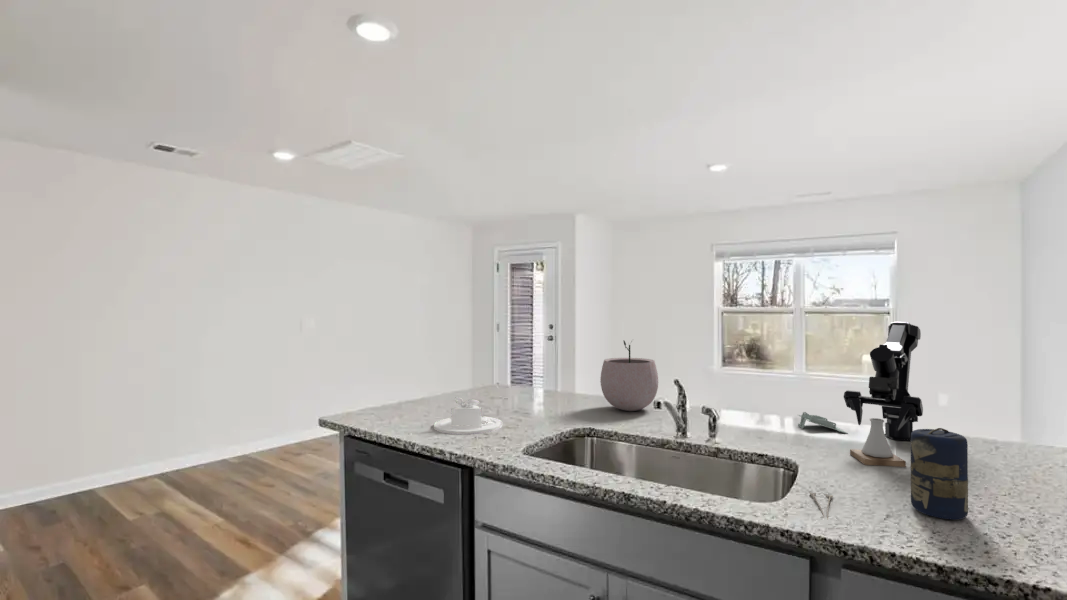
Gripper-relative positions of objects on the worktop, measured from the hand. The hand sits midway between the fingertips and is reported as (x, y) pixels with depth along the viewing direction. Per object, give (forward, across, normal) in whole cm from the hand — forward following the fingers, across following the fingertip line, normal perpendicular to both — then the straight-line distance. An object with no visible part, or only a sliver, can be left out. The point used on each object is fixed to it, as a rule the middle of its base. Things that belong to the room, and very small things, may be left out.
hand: (877, 426), depth 147 cm
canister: (+32, +18, -19) cm, 41 cm away
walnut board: (+8, 0, +5) cm, 9 cm away
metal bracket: (-13, -23, +28) cm, 38 cm away
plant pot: (0, -90, +14) cm, 91 cm away
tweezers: (+42, 0, -29) cm, 51 cm away
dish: (+45, -117, -33) cm, 130 cm away
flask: (+7, 0, +4) cm, 8 cm away
